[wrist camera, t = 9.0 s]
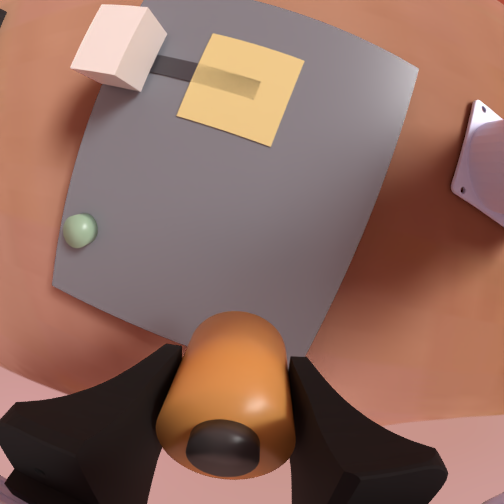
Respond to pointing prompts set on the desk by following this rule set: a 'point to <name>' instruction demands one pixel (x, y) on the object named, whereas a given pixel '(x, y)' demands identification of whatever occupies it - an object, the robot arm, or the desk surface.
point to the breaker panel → (232, 172)
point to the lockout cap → (230, 400)
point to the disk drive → (2, 16)
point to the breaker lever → (120, 46)
